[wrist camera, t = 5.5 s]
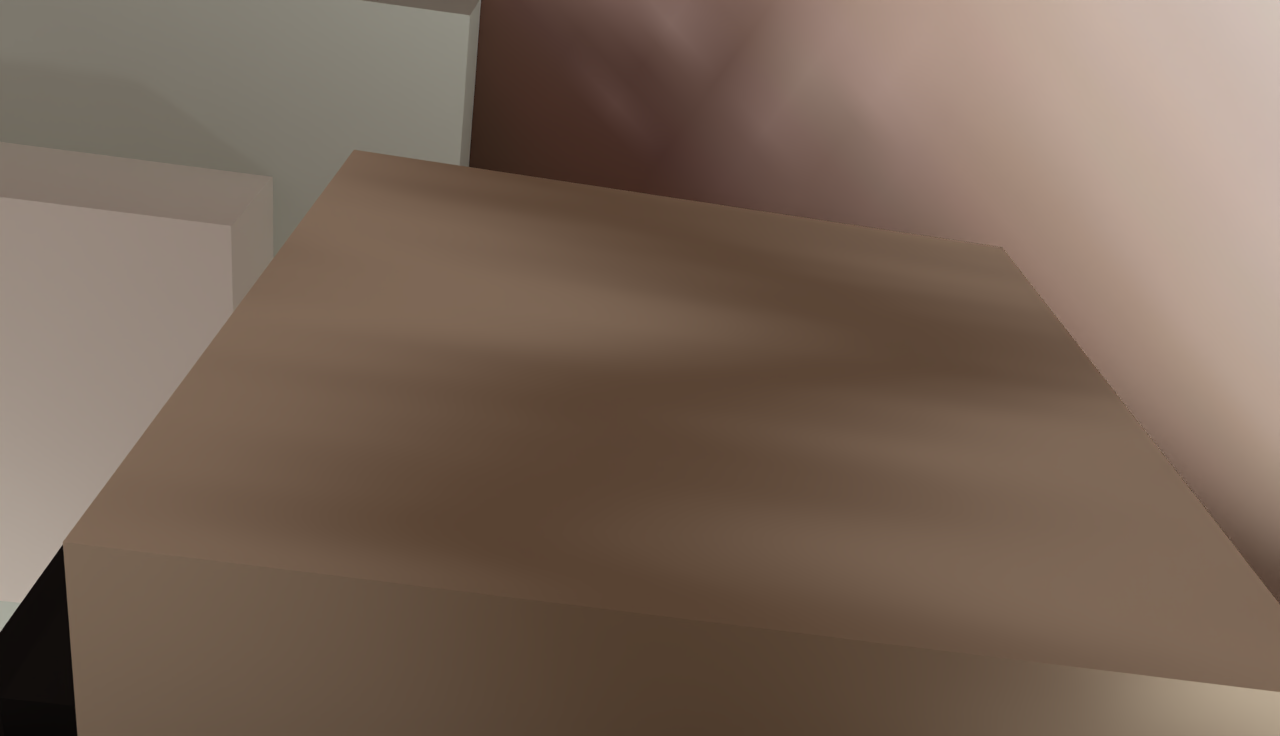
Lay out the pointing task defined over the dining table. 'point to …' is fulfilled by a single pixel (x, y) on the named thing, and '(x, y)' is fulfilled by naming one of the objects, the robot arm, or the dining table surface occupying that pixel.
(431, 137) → the base
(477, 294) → the maple block
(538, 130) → the dining table surface
